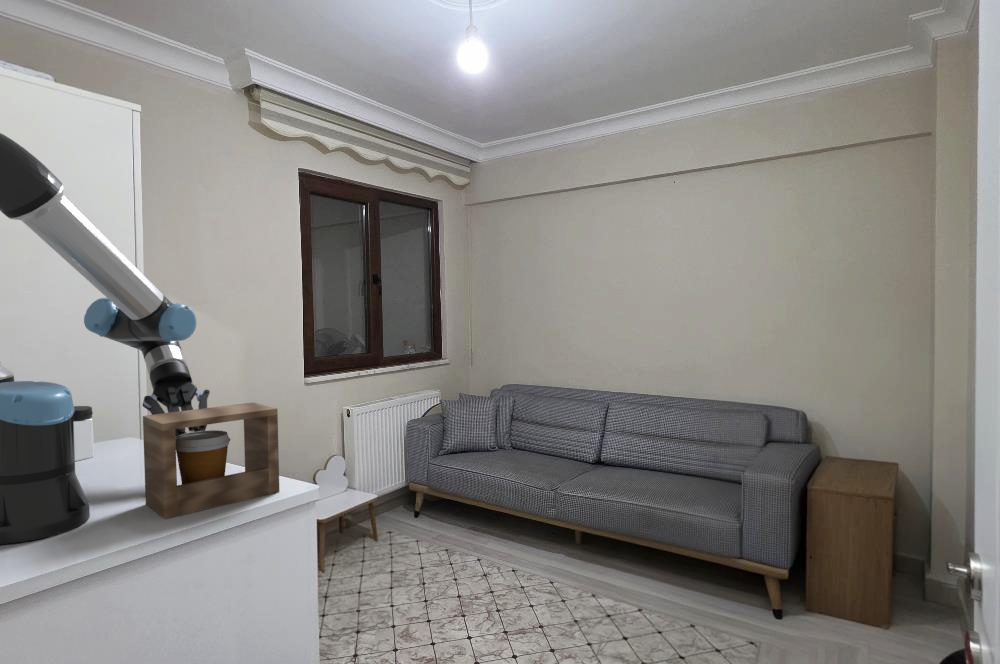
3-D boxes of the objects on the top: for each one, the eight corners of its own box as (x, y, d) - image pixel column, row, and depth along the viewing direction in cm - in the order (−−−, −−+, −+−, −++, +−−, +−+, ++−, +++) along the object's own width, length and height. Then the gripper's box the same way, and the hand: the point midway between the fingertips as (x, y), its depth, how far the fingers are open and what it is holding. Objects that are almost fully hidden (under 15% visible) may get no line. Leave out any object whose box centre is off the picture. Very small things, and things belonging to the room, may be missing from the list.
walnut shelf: (165, 519, 99) (161, 423, 98) (145, 504, 107) (142, 415, 106) (279, 491, 113) (277, 408, 113) (255, 480, 121) (253, 402, 120)
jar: (95, 459, 140) (94, 409, 139) (52, 465, 135) (50, 413, 134) (92, 452, 147) (90, 404, 146) (51, 457, 142) (49, 408, 141)
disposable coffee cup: (240, 497, 110) (238, 434, 109) (186, 511, 103) (184, 443, 102) (219, 487, 116) (217, 427, 116) (166, 499, 109) (164, 435, 109)
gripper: (196, 379, 134) (226, 465, 124) (131, 385, 125) (157, 478, 114) (204, 357, 130) (235, 444, 119) (137, 362, 121) (164, 456, 110)
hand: (197, 461), depth 117 cm, fingers closed
